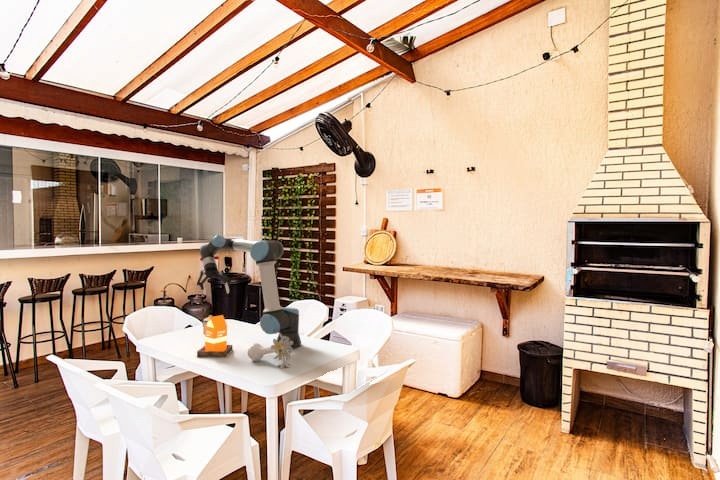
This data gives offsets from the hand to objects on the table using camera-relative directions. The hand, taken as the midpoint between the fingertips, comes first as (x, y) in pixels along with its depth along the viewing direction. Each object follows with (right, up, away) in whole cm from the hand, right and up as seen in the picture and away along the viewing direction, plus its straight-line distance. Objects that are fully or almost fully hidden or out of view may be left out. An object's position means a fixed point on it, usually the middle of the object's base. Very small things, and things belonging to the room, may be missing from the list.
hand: (216, 293), depth 248 cm
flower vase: (+38, -33, -30) cm, 59 cm away
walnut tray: (+4, -32, -15) cm, 35 cm away
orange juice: (+4, -31, -14) cm, 35 cm away
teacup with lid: (-17, -31, +32) cm, 48 cm away
